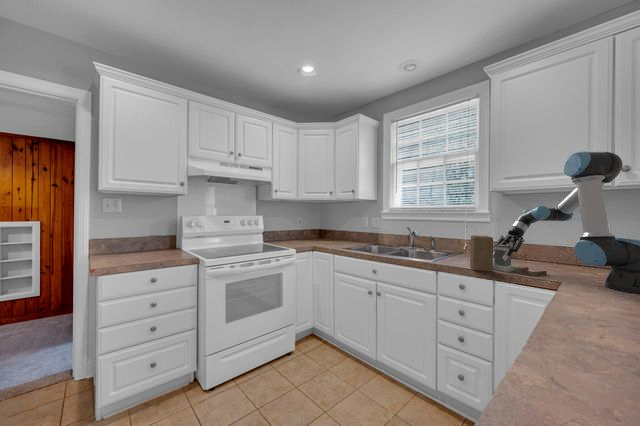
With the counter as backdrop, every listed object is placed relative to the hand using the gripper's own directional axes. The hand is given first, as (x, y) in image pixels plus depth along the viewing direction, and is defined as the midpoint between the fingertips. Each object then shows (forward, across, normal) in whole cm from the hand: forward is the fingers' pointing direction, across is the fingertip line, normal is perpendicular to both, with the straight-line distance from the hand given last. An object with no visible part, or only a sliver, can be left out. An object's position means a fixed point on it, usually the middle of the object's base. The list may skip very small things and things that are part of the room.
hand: (498, 258), depth 167 cm
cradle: (-1, -13, -11) cm, 17 cm away
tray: (+2, 0, -7) cm, 8 cm away
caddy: (+1, 0, -6) cm, 6 cm away
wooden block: (+12, +3, +2) cm, 13 cm away
